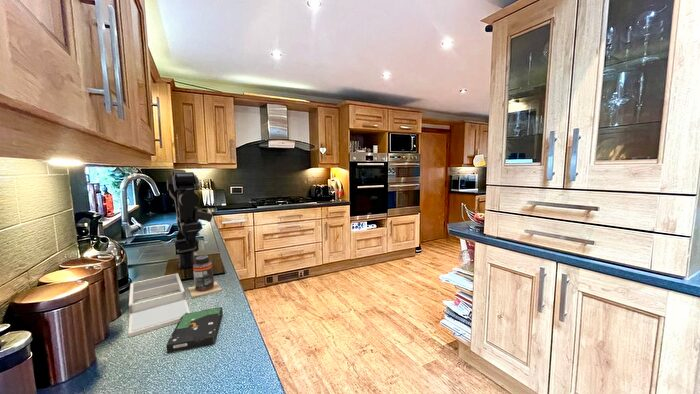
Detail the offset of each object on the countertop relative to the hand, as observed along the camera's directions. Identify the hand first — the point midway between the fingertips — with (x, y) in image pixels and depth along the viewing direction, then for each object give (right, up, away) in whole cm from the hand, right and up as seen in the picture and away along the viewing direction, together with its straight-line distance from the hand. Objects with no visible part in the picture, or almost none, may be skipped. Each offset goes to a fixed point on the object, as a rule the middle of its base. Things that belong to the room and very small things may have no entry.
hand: (190, 244), depth 107 cm
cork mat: (+11, -14, -10) cm, 21 cm away
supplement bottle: (+11, -14, -10) cm, 20 cm away
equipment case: (+1, -15, -20) cm, 25 cm away
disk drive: (+22, -17, -35) cm, 45 cm away
